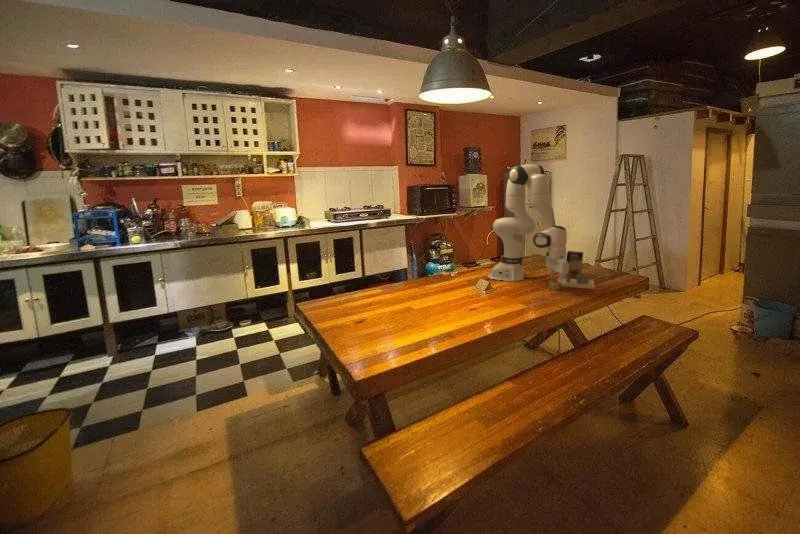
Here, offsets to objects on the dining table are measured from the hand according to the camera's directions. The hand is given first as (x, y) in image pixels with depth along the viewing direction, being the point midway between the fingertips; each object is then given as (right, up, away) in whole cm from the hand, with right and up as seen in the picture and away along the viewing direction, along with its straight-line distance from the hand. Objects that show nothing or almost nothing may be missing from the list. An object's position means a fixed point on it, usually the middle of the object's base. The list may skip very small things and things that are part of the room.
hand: (556, 278), depth 225 cm
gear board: (+15, -4, +10) cm, 19 cm away
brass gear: (0, -6, +3) cm, 7 cm away
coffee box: (+21, 0, +27) cm, 34 cm away
